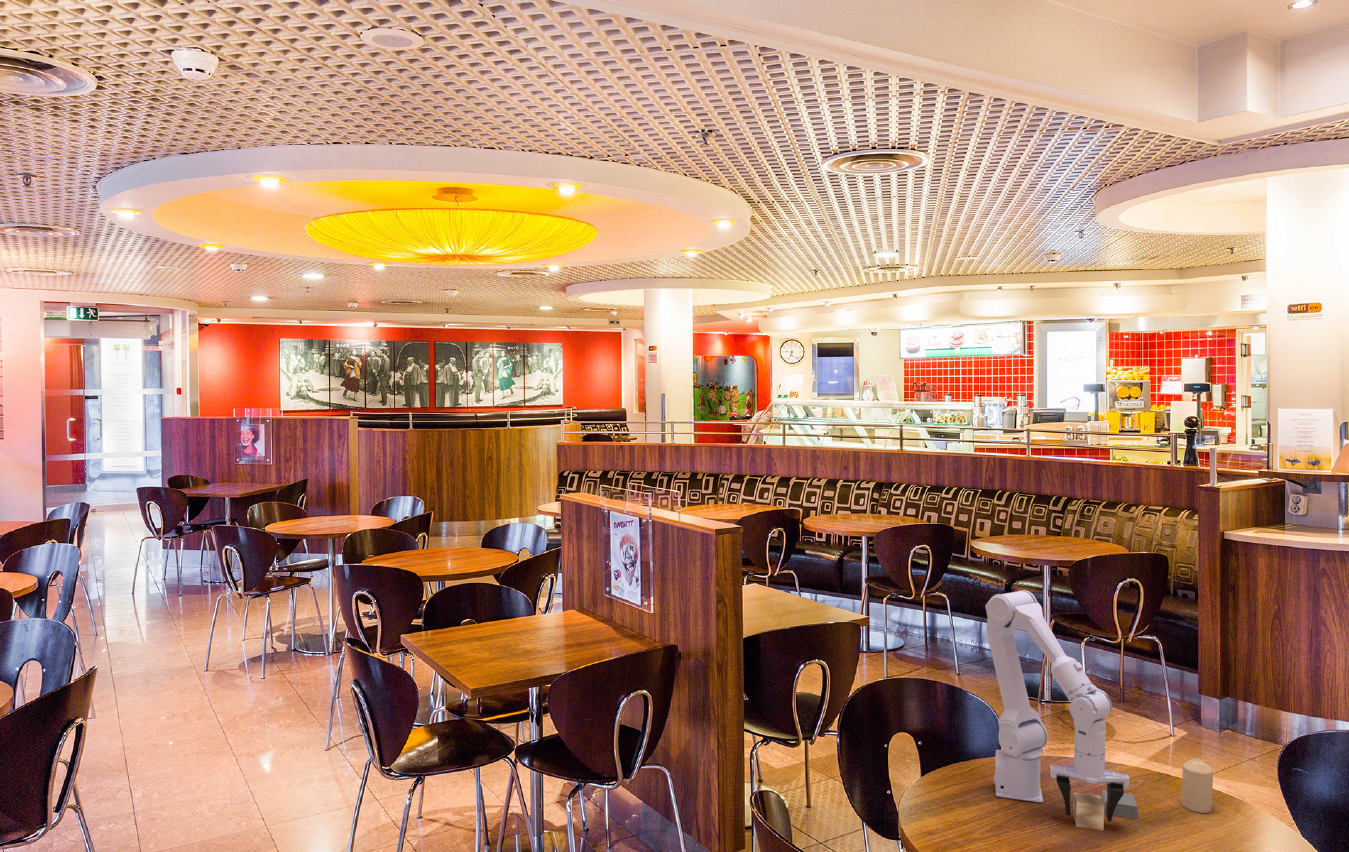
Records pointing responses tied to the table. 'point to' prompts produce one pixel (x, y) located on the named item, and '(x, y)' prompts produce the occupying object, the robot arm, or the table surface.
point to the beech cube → (1088, 811)
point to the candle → (1197, 786)
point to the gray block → (1123, 806)
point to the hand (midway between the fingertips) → (1088, 815)
